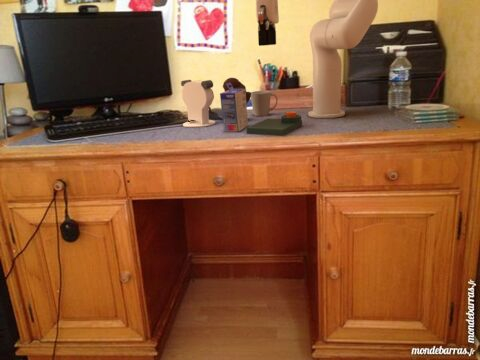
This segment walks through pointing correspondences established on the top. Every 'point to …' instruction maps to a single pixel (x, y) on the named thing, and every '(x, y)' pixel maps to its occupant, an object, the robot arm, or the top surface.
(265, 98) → the cup
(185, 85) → the beige round-topped stand
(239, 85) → the ice cream bowl
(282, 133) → the scale
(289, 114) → the tare button
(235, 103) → the ink cartridge box
